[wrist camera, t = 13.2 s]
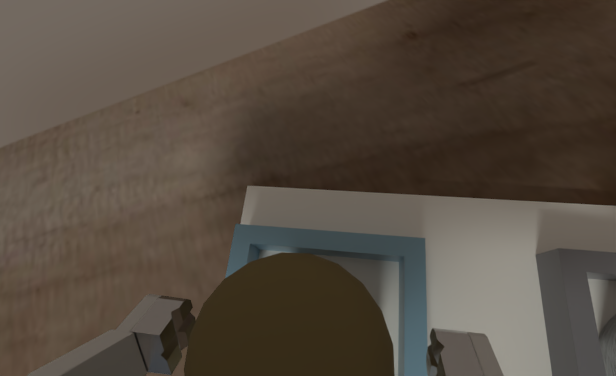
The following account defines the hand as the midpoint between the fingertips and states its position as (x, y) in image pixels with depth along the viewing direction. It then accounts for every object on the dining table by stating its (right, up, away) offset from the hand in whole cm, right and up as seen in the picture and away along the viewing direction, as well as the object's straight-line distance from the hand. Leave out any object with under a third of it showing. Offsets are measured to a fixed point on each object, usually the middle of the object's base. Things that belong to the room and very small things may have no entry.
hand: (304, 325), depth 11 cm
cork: (+1, -3, +6) cm, 7 cm away
